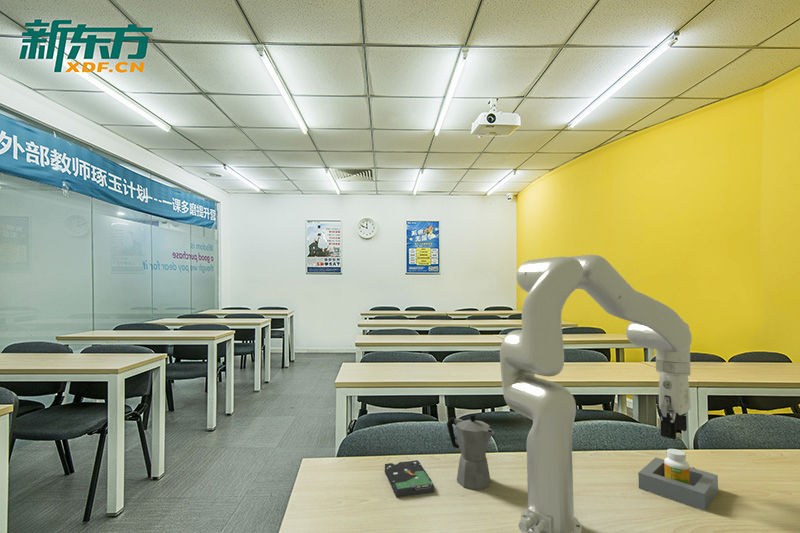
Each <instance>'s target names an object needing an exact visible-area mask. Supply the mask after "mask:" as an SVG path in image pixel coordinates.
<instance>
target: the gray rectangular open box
mask: <svg viewBox="0 0 800 533" xmlns="http://www.w3.org/2000/svg"><path fill="white" fill-rule="evenodd" d="M664 460H665V459H663V458H660V457H656V456H655V457H654V458H653V459H652V460H650V462H649V463H647V465H645V466H644V467H643V468H642V469H641V470H639V472H638V473H637V474H638V475H637V476H638V489H640V490H643V491H645V492H649V493H651V494H654V495H657V496H660V497H663V498H666V499H668V500H672V501H675V502H678V503H681V504H683V505H686V506H689V507H692V508H694V509H697V510H700V511H703V512H706V511H707V509H708V508H709V507H710V505H711V503H712V502H713V500H714V498H715V497H716V495H717V494H718V492H719V479H718V478H719V476H718V474H715V473H711V472H707V471H704V470H702V469H698V468H695V467H691V466H689V468H690V485H689V484H686V483H682V482H679V481H676V480H673V479H670V478H666V477H665V468H664Z"/></svg>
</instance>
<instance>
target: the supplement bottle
mask: <svg viewBox="0 0 800 533" xmlns="http://www.w3.org/2000/svg"><path fill="white" fill-rule="evenodd" d="M666 455H667V457H665V458H664V459H663V460H664V468H665V477H666V478H670V479H673V480H676V481H679V482H682V483H686V484H689V485H690V468H689V467H690V464H689V462H688V461H686V460H687V457H686V456H687V455H686V452H684V451H683V450H680V449H676V448H668V449H667V450H666Z"/></svg>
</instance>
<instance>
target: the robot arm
mask: <svg viewBox="0 0 800 533" xmlns="http://www.w3.org/2000/svg"><path fill="white" fill-rule="evenodd" d="M516 281H517V285H518V286H519V287H520V289H522V290H523V291H524V292H526V293H527V294H526V297H525V298H524V301H523V304H522V308H521V329H515V330H512V331H509V332H508V333H507V334H506V335H505V336H504V338H502V341H501V343H500V348H499V362H500V372H501V374H500V375H501V376H500V377H501V383H502V384H501V386H502V394H503V398H504V401H505V403H506V405H507V406H508V407H509V408H510V409H511V410H512V411H513V412H515V413H517V414H520V415H521V416H523V417H526V418H528V419H530V420H532V426H531V428H530V430H529V432H528V435H527V437H526V438H527V439H526V466H527V467H526V468H527V469H526V471H527V472H526V473H527V476H526V477H527V478H526V479H527V480H526V481H527V507H526V508H525V509H523V511H522V512H521V514H520V522H519V523H518V528H519V531H520V532H522V533H526V532H527V533H583V526H582V523H581V522H580V521H579V519H578V518H576V517H575V514H574V513H575V511H574V509H575V508H574V504H575V503H574V476H573V475H574V474H573V472H574V471H573V445H572V444H573V429H574V422H575V418H576V413H577V405H576V400H575V397H574V395H573V394H572V393H571V391H570V390H569V389H568V388H566V387H564V386H563V385H561V384H559V383H558V382H557V383H556V382H554V381H551V380H549V379H545V378H540V377H536V375H537V376H542V377H548V378H549V377H555V376H558V375H559V374H561V372H562V371H563V369H564V365H565V350H564V348H565V347H564V337H563V326H562V325H563V324H562V313H563V308H564V306H565V304H566V302H567V300H568V299H569V297H570V296H571V295H572V294H573V292H574V291H576V290H583V291H585V292H586V293H587V294H588V295H589V297H591V299H593V301H595V302H596V303H597V304H598V305H599V306H600V307H601V308H602V309H603V310H604V311H605V312H606V313H607V314H609V315H611V316H613V317H616V318H618V319H620V320H621V319H622V320H625V321H627V322H630V323H629V324H628V325H627V327H626V330H625V335H626V338H627V340H628V342H629V343H631V345H633V346H636V347H638V348H642V349H643V348H644V349H650V350H655V371H656V372H657V373H659V380H658V407H659V410H660V413H659V414H660V417H659V418H660V420H659V421H660V436H661V437H664V438H668V439H672V440H676V439H677V430H678V431H683V432H686V431H688V430H687V427H688V426H687V425H688V424H687V422H688V421H687V412H689V411H690V410H691V392H690V382H689V376H690V377H691V373H692V372H691V345H692V342H693V340H692V339H693V337H692V336H693V335H692V332H691V329H690V326H689V324H688V323H687V322H685V320H684V319H683V318H681V316H680V315H679V314H678V313H677V312H676V311H675V310H673V309H672V308H671V307H669V306H668V305H666V304H664V303H663V302H661V301H658V300H656V299H654V298H653V297H650V296H649V295H646V294H644V293H643V292H640V291H638V290H636V289H635V288H633V286H632V285H631V284H630V283H628V281H627V280H626V279H625V278H624V277H623V276H622V275H621V274H620V273H619V271H617V270H616V269H615V267H614V266H613V265H611V263H610V262H609V261H608V260H606V258H604V257H603V256H600V255H597V254H585V255H584V254H583V255H574V256H555V257H545V258H537V259H530V260H529V259H527V260H526V261H524V262H523V263H522V264H520V266H519V267H518V269H517V271H516Z"/></svg>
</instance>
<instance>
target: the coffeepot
mask: <svg viewBox="0 0 800 533" xmlns="http://www.w3.org/2000/svg"><path fill="white" fill-rule="evenodd" d="M476 416H477V415H476V414H474V413H471V414H469V418H470V419H466V420H463V419H462V418H458V417H457V418H456V417H453V416H451V417H450V418H449V419H448V420H447V422H446V426H447V427H446V428H447V430H448V433H449V438H450V442H451V445H452V447H454V448H456V449H459V450H460V457H459V462H458V468H457V475H456V482H457V483H458V484H459V485H460V486H462V487H463V488H465V489H469V490H474V491H475V490H479V491H480V490H484V489H486V488H488V487H489V486H490V482H491V476H490V475H491V474H490V470H489V464H488V458H487V456H486V455H487V454H486V453H487V451H488V444H489V442H490V440H491V438H492V437H493V435H495V434H496V433H495V431H494V430H493V429H491V425H489V424H488V423H486V422H484V421H482V420H476ZM454 426H455V429H456V435H457V441H458V442H457V443H458V444H457V443H456V435H455V433H454Z"/></svg>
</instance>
